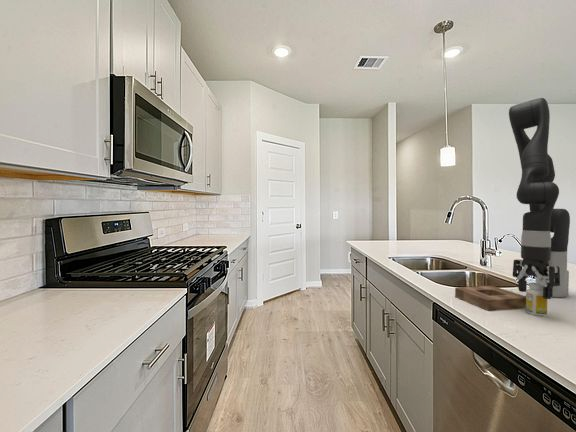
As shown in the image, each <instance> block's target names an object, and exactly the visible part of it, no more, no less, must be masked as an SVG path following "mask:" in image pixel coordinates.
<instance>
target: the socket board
mask: <svg viewBox="0 0 576 432" xmlns="http://www.w3.org/2000/svg"><path fill="white" fill-rule="evenodd" d="M454 290H455V292H454V297H455V298H457V299H459V300H461V301H463V302H466V303H469V304H472V305H474V306H476V307H477V308H481V309H482V310H485V311H488V312H489V311H505V310H518V309H526V295H524V294H521V293H517V292H514V291H511V290H507V289H504V288H501V287H497V286H494V285H483V286H480V285H479V286H466V287H465V286H464V287H463V286H462V287H455V288H454Z"/></svg>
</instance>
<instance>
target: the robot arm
mask: <svg viewBox="0 0 576 432" xmlns="http://www.w3.org/2000/svg"><path fill="white" fill-rule="evenodd" d="M508 118H509V123H510V126H511V130H512V133H513V137H514V140H515V143H516V146H517V149H518V155H519V161H520V166H521V177H520V182H519V185H518V187H517V190H516V191H517V192H516V199H517V201H518V202H519V203H520V204H522V205H529V211H527V212H525V213H523V214H522V230H521V231H522V233H521V235H520V236H521V240H520V258H521V259H514V260H513V265H512V277H514V278H516V280H518V283H517V288H518V291H519V292H522V293H524V292H525V293H526V291H527V290H528V288H527V284H528V283H527V281H528V280H527V279H528V278H529V277H530V276H532V277H534V278H535V283H542V284H543V285H544V286H545V287H543V298H544V299H547V300H551V299H552V298H566V297H567V296H569V290H570V289H569V286H570V285H569V282H570V272H569V270H568V246H569V239H570V238H569V237H570V227H571V226H570V225H571V216H570V213H569V211H568V210H567V209H566V208H555V205H556V203H557V201H558V198H559V195H560V189H559V186H558V184H557V183H555V182H554V180H555V177H556V170H555V166H554V161H553V158H552V157H551V156H550V154H549V153H548V149H549V148H548V145H549V135H550V120H551V119H550V107H549V104H548V101H547V100H546V98H544V97H540V98H539V97H538V98H535V99H532V100H531V99H530V100H528V101H524V102H522V103H518V104H515V105H513V106H510V107H509V110H508ZM535 127H536V130H535V132H534V133H533V136H532V137H531V139H530V138H529V136H528V135H527V132H526V129H531V128H535ZM551 233H553V235H551Z"/></svg>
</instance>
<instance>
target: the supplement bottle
mask: <svg viewBox="0 0 576 432" xmlns="http://www.w3.org/2000/svg"><path fill="white" fill-rule="evenodd" d="M528 287H529V288H527V289H526V292H525V294H526V295H525V296H526V308H525V312H526V313H527V314H529V315H532V316H540V317H545V316H547V314H548V299H544V298H543V287H545V286H544V285H543V284H542V283H536V281H535V282H533V281H532V282H529V284H528Z"/></svg>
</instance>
